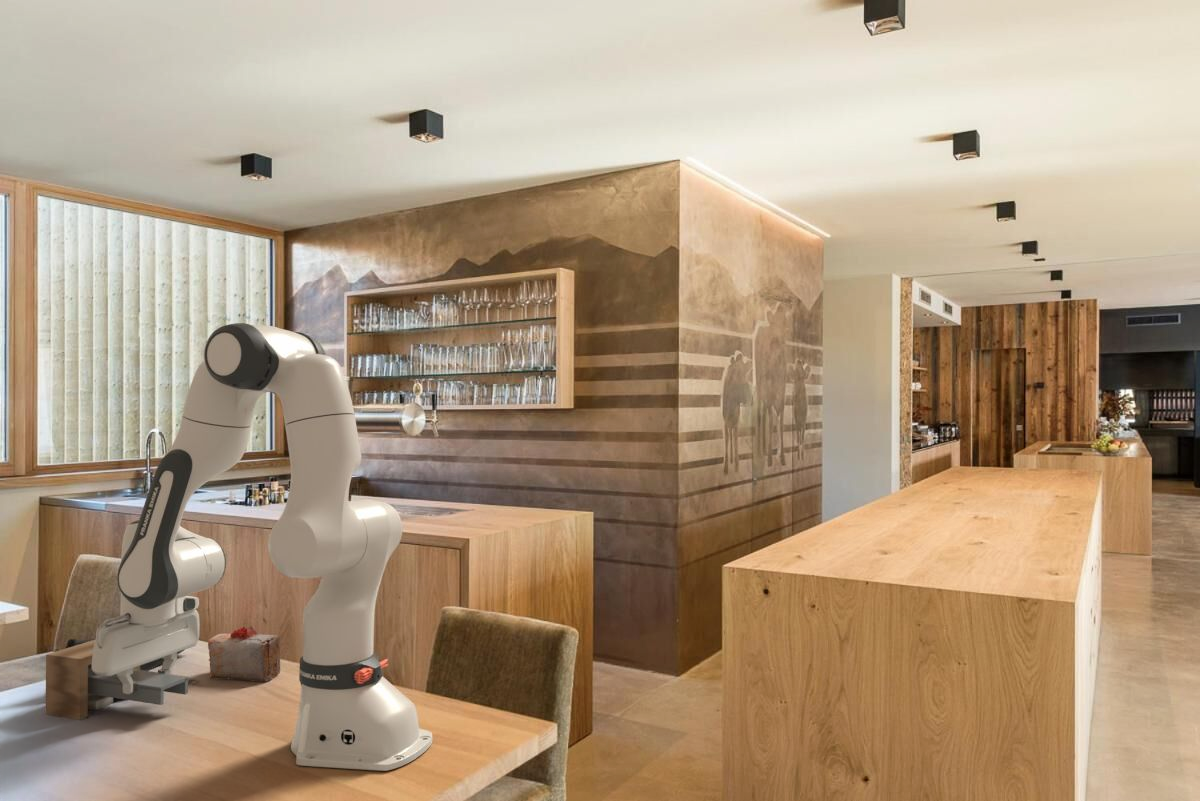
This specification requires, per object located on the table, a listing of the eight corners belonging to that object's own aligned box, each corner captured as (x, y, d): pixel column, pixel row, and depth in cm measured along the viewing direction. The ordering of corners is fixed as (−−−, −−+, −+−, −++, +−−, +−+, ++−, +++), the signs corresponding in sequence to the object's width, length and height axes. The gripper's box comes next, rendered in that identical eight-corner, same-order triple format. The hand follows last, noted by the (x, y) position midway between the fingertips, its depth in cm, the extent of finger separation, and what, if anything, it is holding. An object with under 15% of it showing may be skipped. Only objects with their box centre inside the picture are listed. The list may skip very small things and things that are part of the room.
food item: (201, 680, 165) (201, 631, 165) (225, 668, 173) (226, 620, 173) (264, 685, 163) (264, 634, 163) (286, 672, 171) (286, 624, 171)
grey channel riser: (187, 693, 149) (188, 676, 149) (160, 704, 143) (160, 687, 143) (101, 680, 155) (102, 664, 155) (72, 691, 149) (72, 674, 149)
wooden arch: (139, 695, 156) (140, 639, 156) (79, 719, 144) (80, 659, 144) (107, 690, 159) (107, 635, 159) (45, 714, 147) (46, 654, 147)
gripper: (111, 624, 137) (110, 708, 137) (206, 596, 156) (205, 670, 156) (82, 620, 139) (81, 703, 139) (179, 594, 158) (178, 666, 158)
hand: (147, 685), depth 148 cm, fingers closed on grey channel riser, 6 cm apart
